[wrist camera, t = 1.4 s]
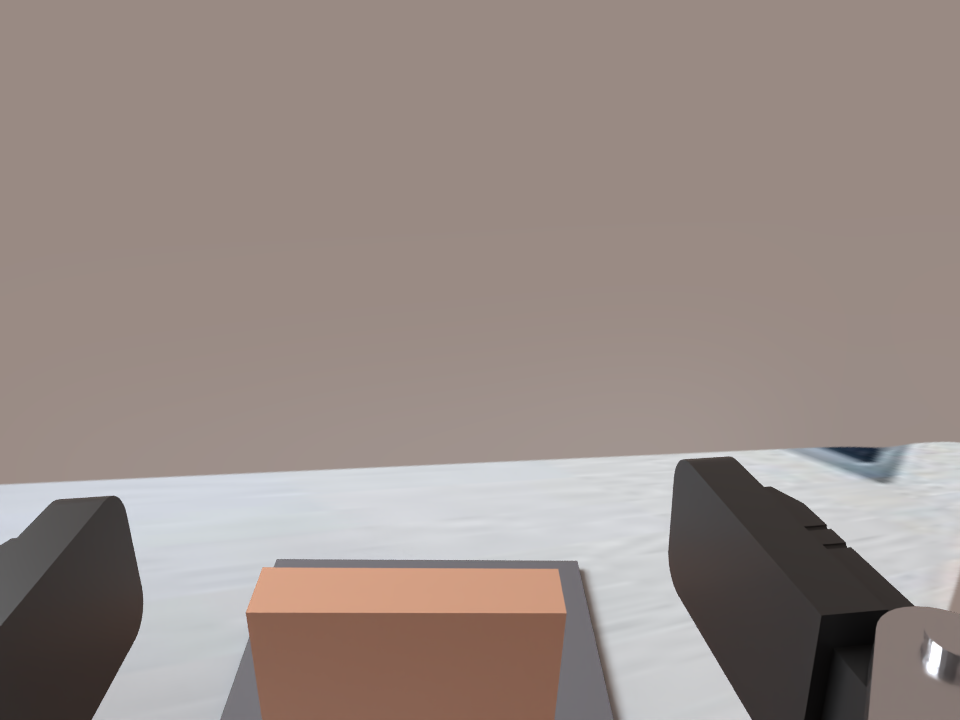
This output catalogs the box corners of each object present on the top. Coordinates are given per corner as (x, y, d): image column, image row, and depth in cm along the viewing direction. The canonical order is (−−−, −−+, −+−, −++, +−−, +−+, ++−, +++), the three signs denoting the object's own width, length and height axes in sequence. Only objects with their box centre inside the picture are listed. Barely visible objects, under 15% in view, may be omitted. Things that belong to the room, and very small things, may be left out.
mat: (157, 917, 24) (153, 907, 24) (277, 567, 41) (276, 559, 40) (652, 909, 25) (654, 900, 25) (576, 568, 41) (577, 560, 41)
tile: (281, 846, 26) (245, 612, 21) (293, 790, 28) (263, 564, 23) (540, 843, 27) (566, 613, 21) (534, 788, 28) (557, 565, 23)
